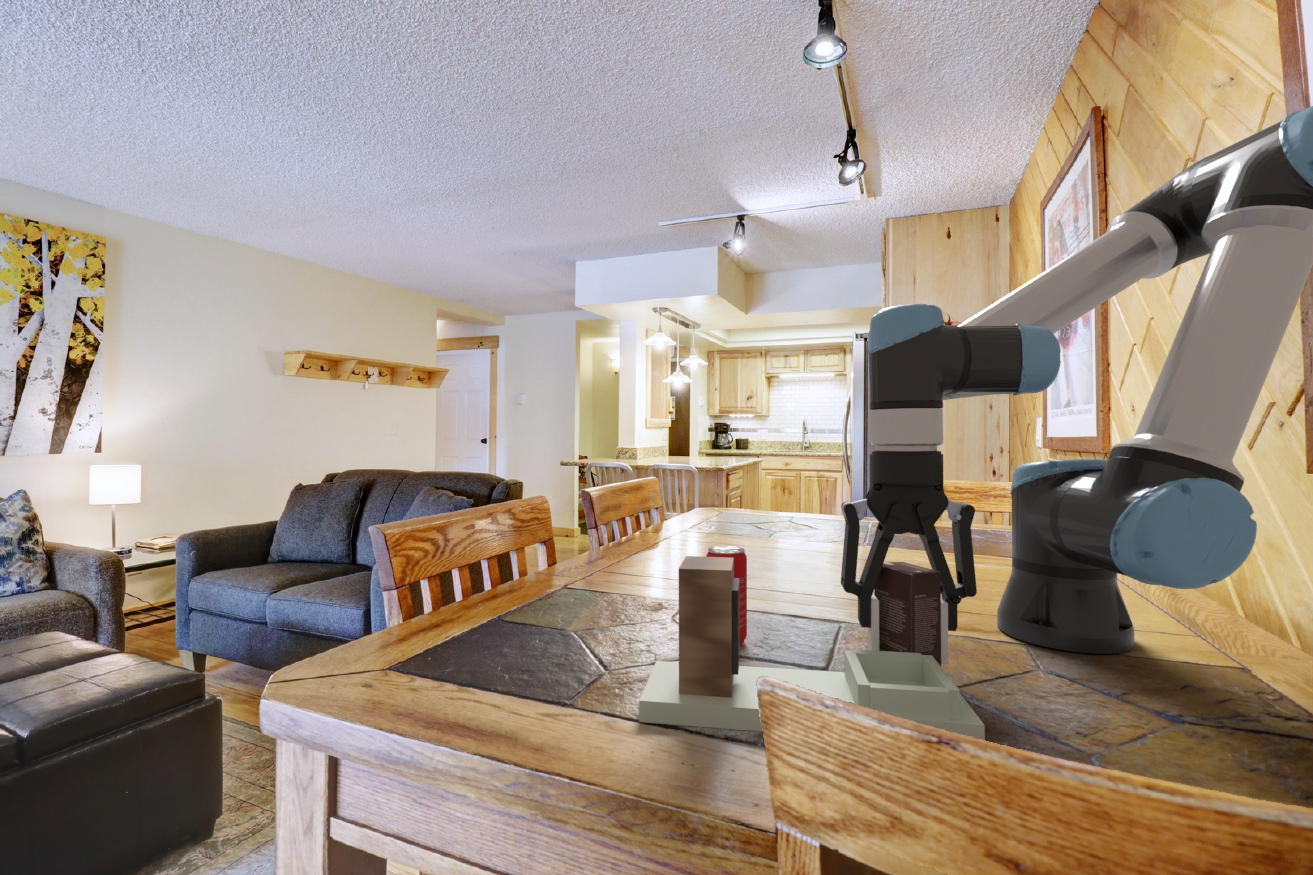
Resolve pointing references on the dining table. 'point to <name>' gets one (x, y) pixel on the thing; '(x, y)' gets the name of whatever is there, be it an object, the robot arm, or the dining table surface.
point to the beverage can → (739, 572)
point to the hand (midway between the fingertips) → (906, 657)
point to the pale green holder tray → (866, 681)
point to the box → (909, 609)
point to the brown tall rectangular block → (708, 626)
